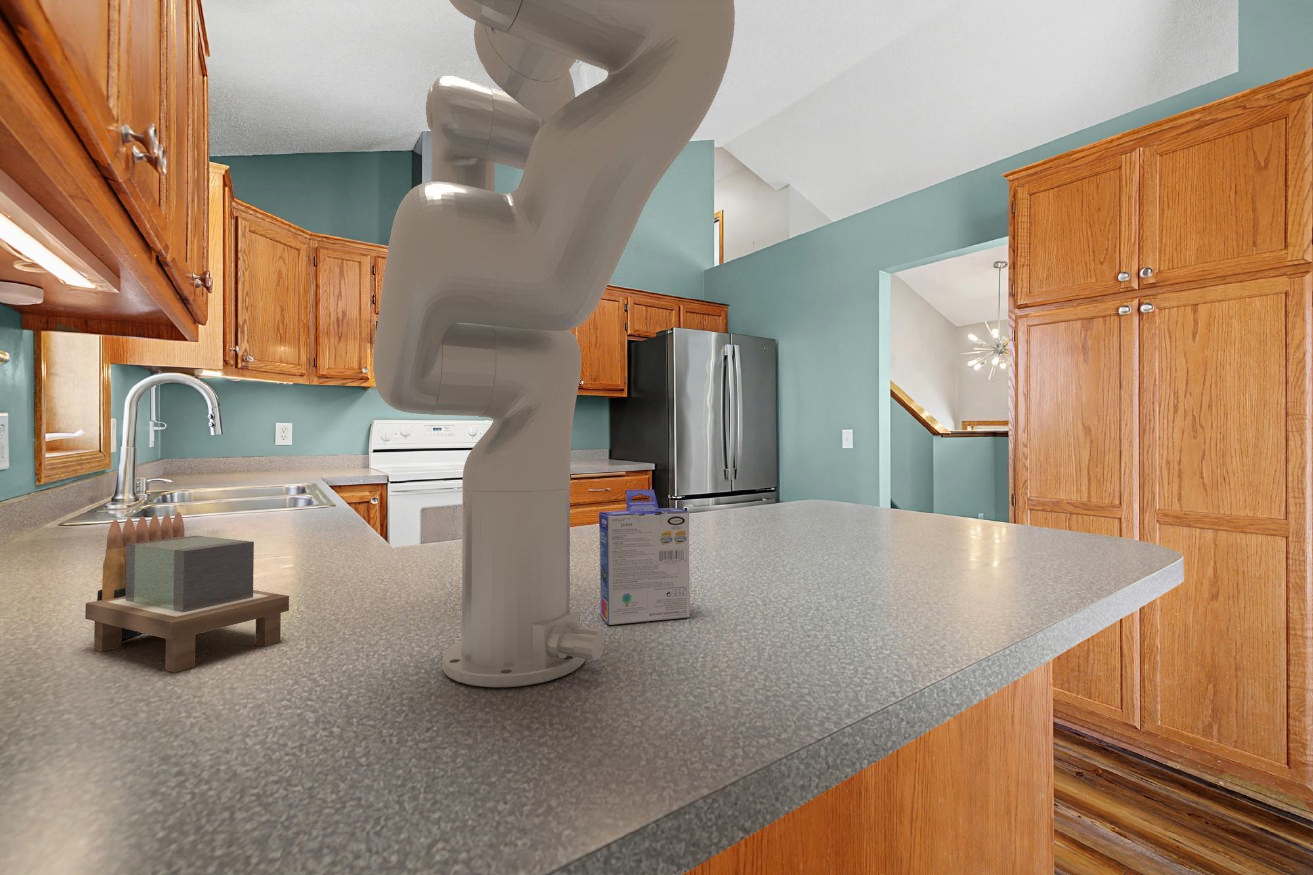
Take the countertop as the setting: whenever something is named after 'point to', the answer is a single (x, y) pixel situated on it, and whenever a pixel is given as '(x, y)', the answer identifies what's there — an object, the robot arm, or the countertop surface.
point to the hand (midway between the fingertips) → (462, 359)
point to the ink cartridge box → (644, 562)
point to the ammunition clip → (117, 552)
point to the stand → (184, 623)
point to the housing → (189, 572)
